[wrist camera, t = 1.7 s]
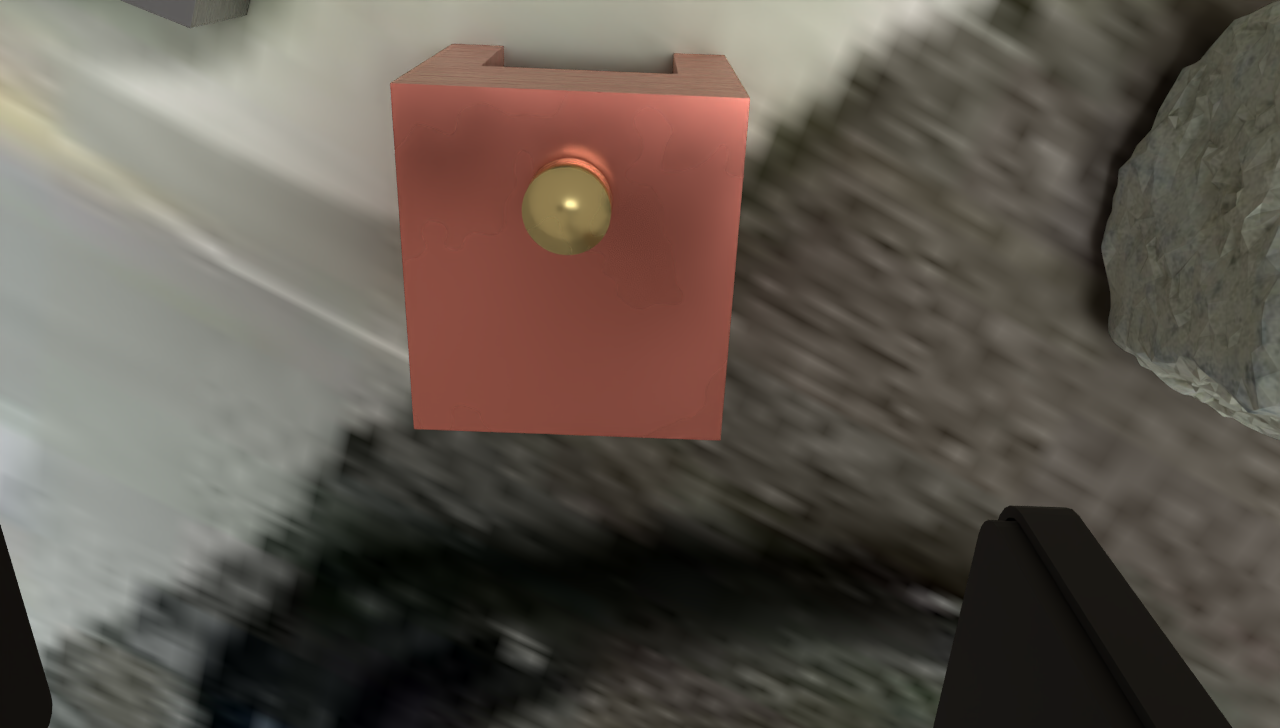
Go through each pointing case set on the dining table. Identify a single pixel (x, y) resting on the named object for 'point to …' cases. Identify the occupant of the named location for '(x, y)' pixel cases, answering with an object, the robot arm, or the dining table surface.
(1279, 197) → the decorative stone
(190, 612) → the dining table surface
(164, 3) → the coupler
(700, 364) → the block
